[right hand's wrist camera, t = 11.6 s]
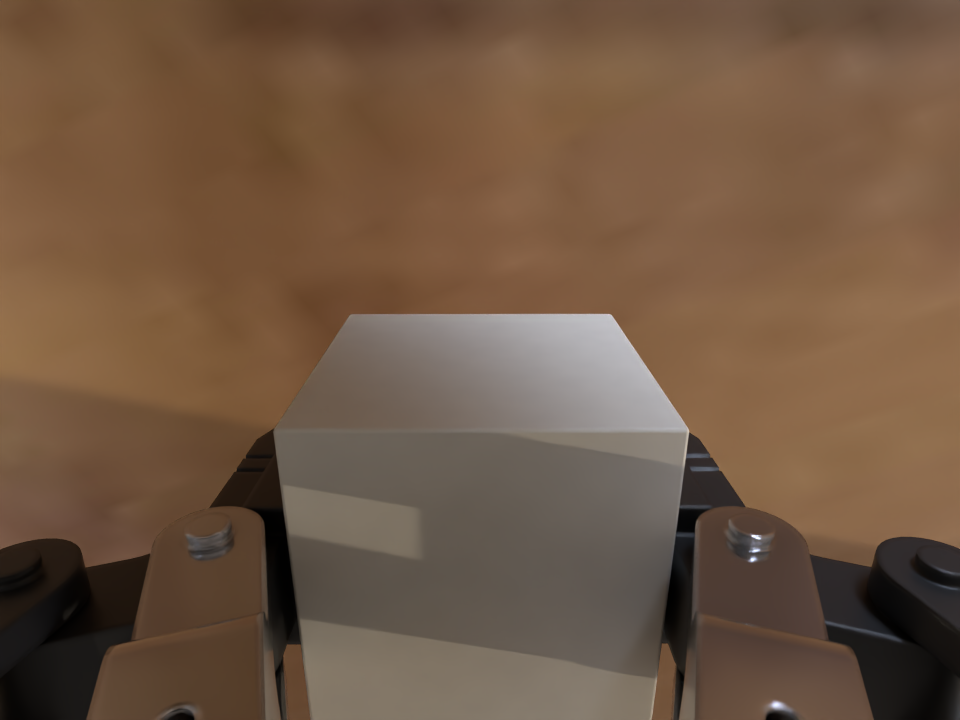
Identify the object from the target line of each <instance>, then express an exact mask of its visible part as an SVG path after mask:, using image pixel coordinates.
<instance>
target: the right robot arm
mask: <svg viewBox="0 0 960 720" xmlns="http://www.w3.org/2000/svg"><path fill="white" fill-rule="evenodd" d="M273 431H274V429H272V430H271V431H269V432H268V433H266V434H265V435H263V436H262V437H260V438H259V439H257V440H256V442H255V443H254V445H253V446H252V447H251V449H250V450H249V452H248V453H247V455H246V459H243V460H242V462H241V463H240V465H239V466H238V468H237V472H234V473H233V475H232V476H231V478H230V479H229V480H228V482H227V483H226V485H225V486H224V488H223V489H222V491H221V492H220V493H219V495H218V496H217V498H216V499H215V501H214V502H213V503H212V505H211V506H210V508H208V509H204V510H200V511H197V512H194V513H191V514H189V515H186V516H184V517H182V518H180V519H178V520H176V521H175V522H173V523H172V524H170V525H169V526H167V527H166V528H165V529H164V530H163V531H162V532H161V533H160V534H159V535H158V536H157V538H156V539H155V541H154V543H153V546H152V550H151V553H150V554H147V555H144V556H141V557H137V558H132V559H128V560H123V561H118V562H113V563H108V564H103V565H98V566H92V567H87V568H85V564H84V560H83V556H82V553H81V550H80V548H79V547H78V546H77V545H76V544H74V543H73V542H71V541H67V540H63V539H38V540H32V541H27V542H23V543H19V544H15V545H12V546H9V547H6V548H3V549H1V550H0V720H289V711H288V696H287V681H286V673H285V666H284V659H283V654H284V651H285V649H286V646H287V644H301V642H300V634H299V626H298V619H297V611H296V603H295V595H294V588H293V580H292V572H291V564H290V557H289V549H288V541H287V533H286V526H285V518H284V510H283V502H282V495H281V487H280V479H279V471H278V464H277V456H276V448H275V440H274V433H273ZM662 643H668V644H669V647H670V650H671V653H672V655H673V658H674V661H675V663H676V666H675V673H674V680H673V695H672V711H671V720H960V549H959V548H956V547H954V546H951V545H948V544H945V543H941V542H938V541H934V540H929V539H924V538H916V537H897V538H891V539H888V540H885V541H884V542H882V543H881V544H880V545H879V546H878V547H877V550H876V553H875V556H874V560H873V564H872V567H867V566H862V565H857V564H852V563H847V562H842V561H837V560H832V559H827V558H822V557H818V556H814V555H810V554H809V550H808V546H807V543H806V541H805V539H804V538H803V536H802V535H801V534H800V533H799V532H798V531H797V530H796V529H795V528H794V527H793V526H791V525H790V524H788V523H787V522H785V521H784V520H782V519H780V518H778V517H776V516H774V515H771V514H769V513H766V512H763V511H760V510H756V509H752V508H746V507H745V505H744V504H743V502H742V501H741V499H740V498H739V496H738V495H737V493H736V492H735V491H734V489H733V488H732V486H731V485H730V483H729V482H728V480H727V479H726V477H725V476H724V475H723V473H722V472H721V471H719V467H718V466H717V464H716V463H715V461H714V460H713V458H710V454H709V453H708V451H707V450H706V448H705V447H704V445H703V444H702V442H701V441H700V440H699V439H698V438H697V437H695V436H694V435H692V434H691V433H689V437H688V444H687V452H686V460H685V467H684V475H683V483H682V490H681V498H680V506H679V514H678V521H677V529H676V537H675V544H674V552H673V560H672V567H671V575H670V583H669V590H668V598H667V606H666V614H665V621H664V629H663V637H662Z"/></svg>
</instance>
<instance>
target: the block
mask: <svg viewBox="0 0 960 720" xmlns="http://www.w3.org/2000/svg"><path fill="white" fill-rule="evenodd" d="M273 433H274V440H275V448H276V456H277V464H278V471H279V479H280V487H281V495H282V502H283V510H284V518H285V526H286V533H287V541H288V549H289V557H290V564H291V572H292V580H293V588H294V595H295V603H296V611H297V619H298V626H299V634H300V642H301V650H302V657H303V665H304V673H305V681H306V688H307V696H308V704H309V712H310V719H311V720H652V714H653V706H654V698H655V691H656V683H657V675H658V667H659V660H660V652H661V644H662V637H663V629H664V621H665V614H666V606H667V598H668V590H669V583H670V575H671V567H672V560H673V552H674V544H675V537H676V529H677V521H678V514H679V506H680V498H681V490H682V483H683V475H684V467H685V460H686V452H687V444H688V437H689V429H688V427H687V426H686V424H685V423H684V421H683V420H682V418H681V417H680V415H679V414H678V413H677V411H676V410H675V408H674V407H673V405H672V404H671V402H670V401H669V399H668V398H667V396H666V395H665V393H664V392H663V390H662V389H661V387H660V386H659V384H658V383H657V381H656V380H655V379H654V377H653V376H652V374H651V373H650V371H649V370H648V368H647V367H646V365H645V364H644V362H643V361H642V359H641V358H640V356H639V355H638V353H637V352H636V350H635V349H634V347H633V346H632V345H631V343H630V342H629V340H628V339H627V337H626V336H625V334H624V333H623V331H622V330H621V328H620V327H619V325H618V324H617V322H616V321H615V319H614V318H613V316H612V315H611V314H351V315H349V317H348V318H347V320H346V321H345V323H344V324H343V326H342V327H341V329H340V330H339V332H338V333H337V335H336V336H335V338H334V340H333V341H332V343H331V344H330V346H329V347H328V349H327V350H326V352H325V353H324V355H323V356H322V358H321V359H320V361H319V362H318V364H317V365H316V367H315V368H314V370H313V371H312V373H311V374H310V376H309V377H308V379H307V380H306V382H305V383H304V385H303V386H302V388H301V389H300V391H299V392H298V394H297V395H296V397H295V398H294V400H293V401H292V403H291V404H290V406H289V407H288V409H287V410H286V412H285V413H284V415H283V416H282V418H281V419H280V421H279V422H278V424H277V425H276V427H275V428H274V431H273Z"/></svg>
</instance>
